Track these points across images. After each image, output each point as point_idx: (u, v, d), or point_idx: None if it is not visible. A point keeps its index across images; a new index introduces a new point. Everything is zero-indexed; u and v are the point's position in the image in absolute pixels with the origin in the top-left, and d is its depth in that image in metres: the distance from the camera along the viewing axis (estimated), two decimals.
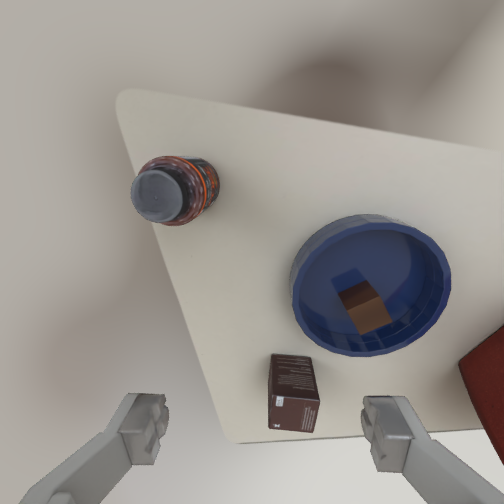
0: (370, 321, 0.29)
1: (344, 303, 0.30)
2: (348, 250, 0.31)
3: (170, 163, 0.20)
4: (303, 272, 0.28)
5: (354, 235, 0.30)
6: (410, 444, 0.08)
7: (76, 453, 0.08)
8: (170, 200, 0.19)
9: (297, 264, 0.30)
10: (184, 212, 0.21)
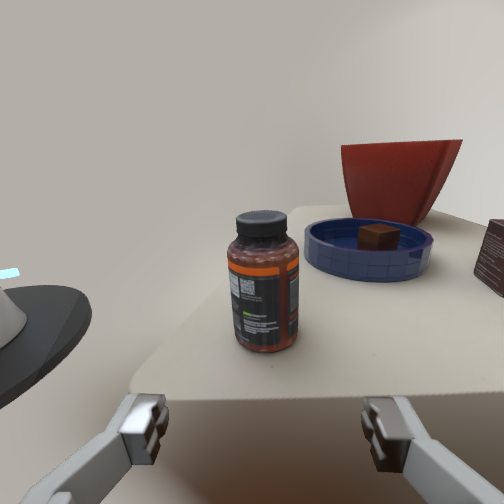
0: (384, 227, 0.38)
1: (377, 242, 0.36)
2: None
3: None
4: (351, 249, 0.32)
5: None
6: (410, 444, 0.08)
7: (76, 453, 0.08)
8: (265, 212, 0.21)
9: (348, 261, 0.32)
10: None
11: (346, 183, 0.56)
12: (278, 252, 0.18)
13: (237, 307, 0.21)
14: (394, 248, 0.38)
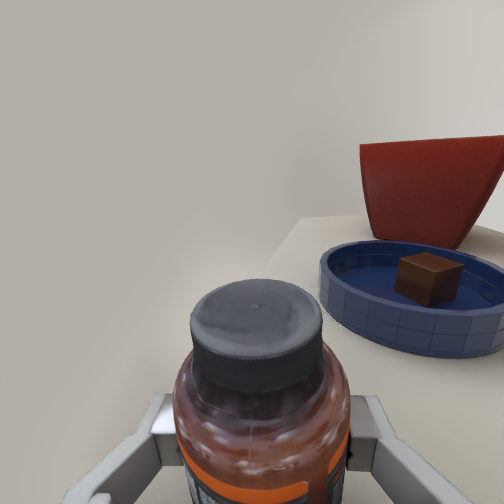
0: (437, 260, 0.26)
1: (431, 284, 0.24)
2: None
3: None
4: (402, 304, 0.20)
5: None
6: (376, 443, 0.08)
7: (110, 454, 0.08)
8: (265, 288, 0.09)
9: (397, 325, 0.20)
10: None
11: (366, 192, 0.44)
12: (305, 434, 0.06)
13: None
14: (453, 291, 0.26)
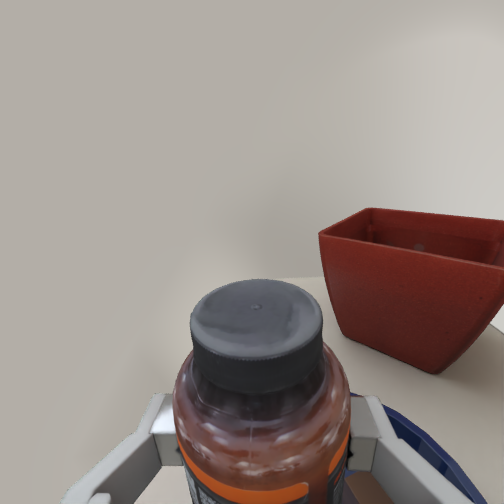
0: None
1: None
2: None
3: None
4: None
5: None
6: (377, 443, 0.08)
7: (110, 454, 0.08)
8: (266, 289, 0.09)
9: None
10: None
11: (328, 287, 0.35)
12: (305, 435, 0.06)
13: None
14: None
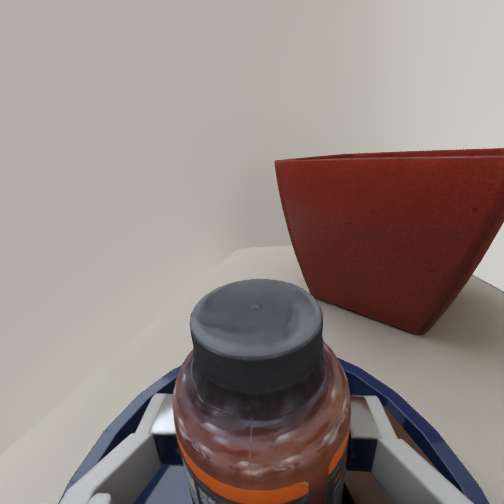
0: None
1: None
2: None
3: None
4: None
5: None
6: (377, 443, 0.08)
7: (110, 454, 0.08)
8: (266, 288, 0.09)
9: None
10: None
11: (290, 234, 0.29)
12: (305, 434, 0.06)
13: None
14: None
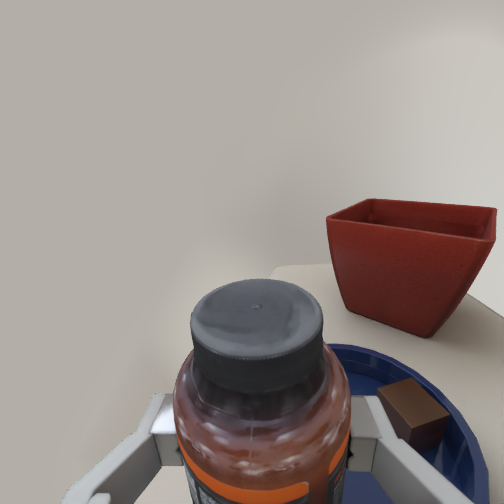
0: (419, 400, 0.23)
1: (407, 437, 0.21)
2: None
3: None
4: None
5: None
6: (377, 443, 0.08)
7: (110, 454, 0.08)
8: (266, 288, 0.09)
9: None
10: None
11: (334, 266, 0.40)
12: (306, 434, 0.06)
13: None
14: (437, 439, 0.22)
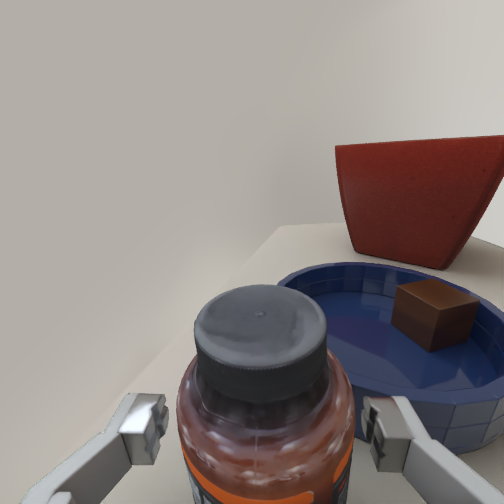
0: (445, 292, 0.21)
1: (433, 324, 0.19)
2: None
3: None
4: (357, 377, 0.14)
5: None
6: (410, 444, 0.08)
7: (76, 453, 0.08)
8: (269, 295, 0.09)
9: None
10: None
11: (343, 201, 0.38)
12: (311, 444, 0.06)
13: None
14: (465, 332, 0.20)
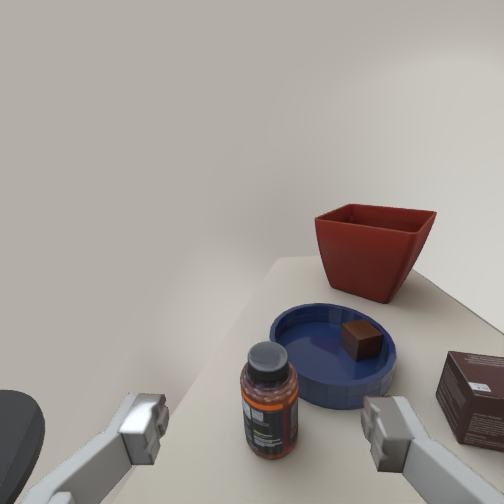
0: (366, 328, 0.38)
1: (356, 347, 0.36)
2: (298, 359, 0.38)
3: (246, 365, 0.26)
4: (309, 374, 0.31)
5: None
6: (410, 444, 0.08)
7: (76, 453, 0.08)
8: (270, 346, 0.26)
9: (307, 387, 0.31)
10: None
11: (321, 254, 0.55)
12: (281, 391, 0.23)
13: (248, 424, 0.25)
14: (376, 351, 0.37)
